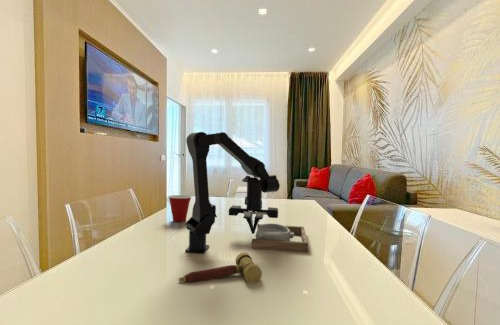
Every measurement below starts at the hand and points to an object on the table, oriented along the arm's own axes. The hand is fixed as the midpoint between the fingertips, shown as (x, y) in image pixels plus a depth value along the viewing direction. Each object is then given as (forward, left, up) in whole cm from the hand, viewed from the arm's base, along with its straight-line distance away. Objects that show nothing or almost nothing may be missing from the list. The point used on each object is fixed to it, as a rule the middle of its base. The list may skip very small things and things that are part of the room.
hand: (253, 233), depth 104 cm
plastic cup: (+19, +37, -2) cm, 42 cm away
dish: (0, -8, -2) cm, 8 cm away
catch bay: (0, -10, -2) cm, 10 cm away
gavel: (-33, +5, -3) cm, 34 cm away
